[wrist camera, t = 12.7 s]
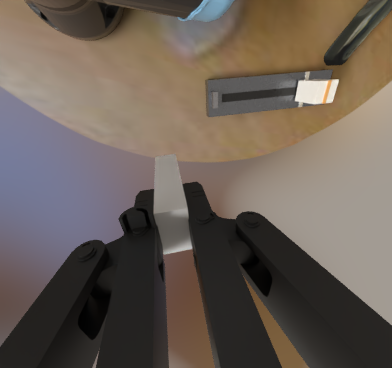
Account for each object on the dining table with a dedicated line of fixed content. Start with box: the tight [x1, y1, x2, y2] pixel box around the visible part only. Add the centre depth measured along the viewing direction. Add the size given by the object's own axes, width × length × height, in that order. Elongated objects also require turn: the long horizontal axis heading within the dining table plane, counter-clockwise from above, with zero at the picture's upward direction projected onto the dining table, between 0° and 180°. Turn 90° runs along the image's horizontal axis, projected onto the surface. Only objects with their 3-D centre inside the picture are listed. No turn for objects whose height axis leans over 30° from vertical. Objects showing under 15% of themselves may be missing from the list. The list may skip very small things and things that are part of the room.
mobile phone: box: [324, 0, 392, 65], centre depth 35 cm, size 5×3×15 cm
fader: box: [295, 79, 339, 104], centre depth 37 cm, size 4×4×6 cm
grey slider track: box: [206, 70, 333, 117], centre depth 39 cm, size 7×28×4 cm, turn 94°
